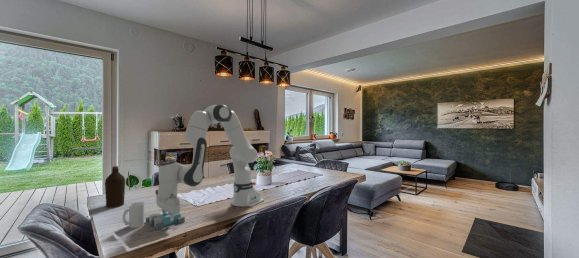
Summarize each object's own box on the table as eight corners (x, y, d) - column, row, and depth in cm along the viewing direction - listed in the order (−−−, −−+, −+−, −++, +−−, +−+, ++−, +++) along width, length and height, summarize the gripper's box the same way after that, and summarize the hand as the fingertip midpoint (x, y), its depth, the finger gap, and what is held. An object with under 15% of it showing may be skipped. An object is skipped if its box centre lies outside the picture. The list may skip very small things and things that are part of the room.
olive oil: (128, 204, 159) (128, 166, 158) (109, 209, 149) (109, 168, 149) (120, 201, 164) (120, 164, 163) (101, 206, 155) (101, 166, 154)
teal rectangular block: (177, 219, 133) (178, 212, 133) (180, 221, 131) (180, 213, 131) (154, 226, 123) (154, 218, 123) (156, 228, 121) (156, 220, 121)
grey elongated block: (172, 216, 137) (172, 209, 137) (175, 218, 135) (175, 210, 135) (149, 222, 128) (149, 215, 128) (151, 224, 126) (151, 216, 126)
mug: (139, 223, 129) (140, 201, 129) (147, 226, 126) (147, 203, 126) (118, 230, 121) (119, 206, 120) (126, 233, 117) (126, 209, 117)
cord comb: (172, 216, 139) (172, 210, 139) (184, 223, 130) (184, 217, 130) (145, 224, 129) (145, 217, 129) (156, 232, 119) (156, 225, 119)
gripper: (183, 195, 122) (183, 222, 123) (166, 187, 136) (165, 212, 136) (170, 197, 118) (170, 226, 118) (153, 190, 131) (153, 215, 131)
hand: (168, 218), depth 127 cm, fingers open, 6 cm apart
